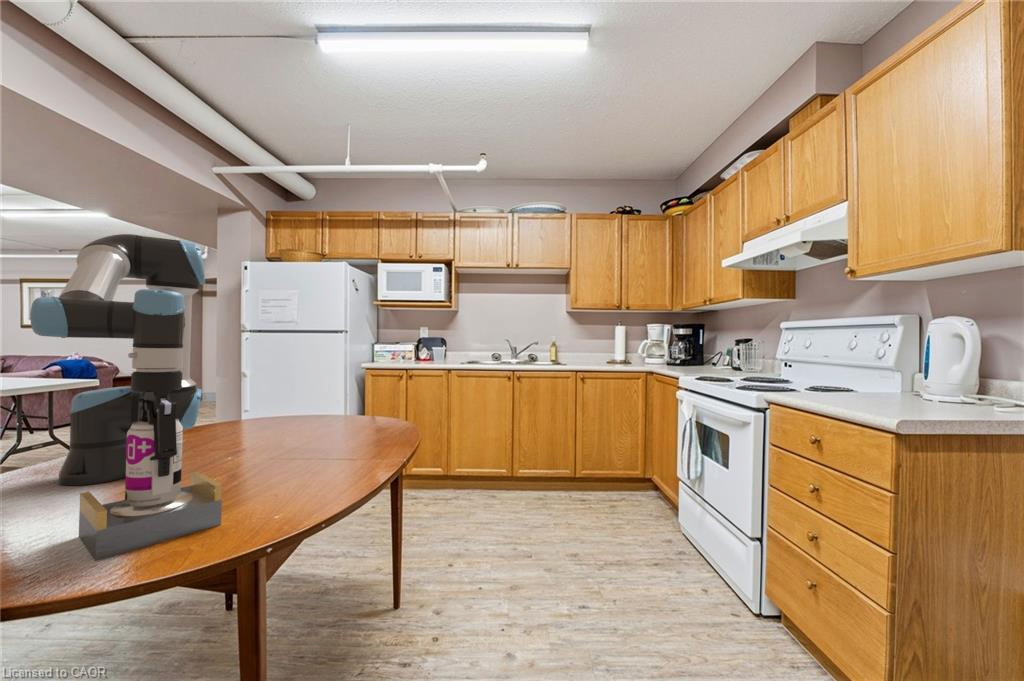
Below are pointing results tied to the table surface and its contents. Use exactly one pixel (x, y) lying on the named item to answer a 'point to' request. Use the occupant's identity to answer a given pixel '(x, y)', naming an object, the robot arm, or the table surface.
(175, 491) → the supplement can
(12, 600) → the table surface
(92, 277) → the robot arm
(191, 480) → the grey boxy piece
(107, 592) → the table surface
